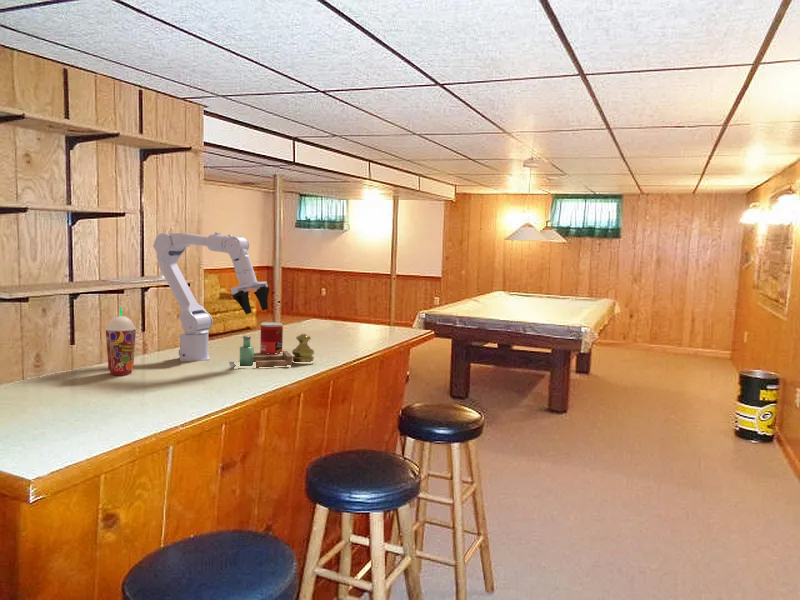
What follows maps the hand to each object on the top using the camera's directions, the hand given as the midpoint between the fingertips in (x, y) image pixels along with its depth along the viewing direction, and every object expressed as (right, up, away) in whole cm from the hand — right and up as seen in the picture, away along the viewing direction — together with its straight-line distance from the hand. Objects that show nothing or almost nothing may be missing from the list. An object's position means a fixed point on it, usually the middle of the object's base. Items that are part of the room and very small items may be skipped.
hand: (257, 311), depth 197 cm
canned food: (0, -16, +24) cm, 28 cm away
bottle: (-4, -17, 0) cm, 18 cm away
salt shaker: (+14, -18, +9) cm, 24 cm away
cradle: (+1, -18, +2) cm, 18 cm away
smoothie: (-37, -18, -17) cm, 44 cm away
